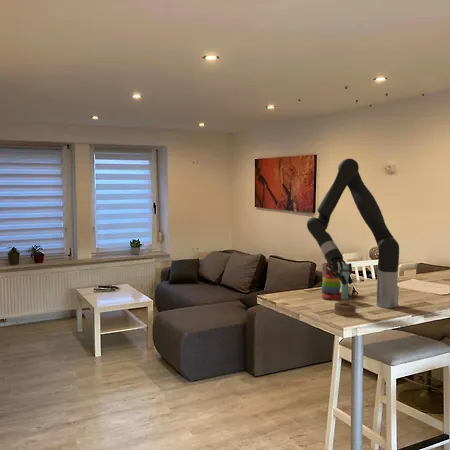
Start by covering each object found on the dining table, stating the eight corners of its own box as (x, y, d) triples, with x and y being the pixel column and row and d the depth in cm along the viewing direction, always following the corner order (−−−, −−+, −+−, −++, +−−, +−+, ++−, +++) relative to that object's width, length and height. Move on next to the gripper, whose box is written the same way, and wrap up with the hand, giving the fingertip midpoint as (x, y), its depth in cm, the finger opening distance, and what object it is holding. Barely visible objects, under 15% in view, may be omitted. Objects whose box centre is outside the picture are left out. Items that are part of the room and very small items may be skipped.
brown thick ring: (345, 309, 222) (345, 301, 222) (359, 314, 214) (359, 305, 214) (330, 312, 218) (330, 303, 218) (344, 317, 210) (344, 308, 210)
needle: (344, 297, 217) (346, 265, 216) (349, 299, 215) (350, 266, 214) (339, 298, 216) (341, 265, 215) (344, 299, 214) (345, 266, 212)
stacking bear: (325, 300, 239) (326, 265, 238) (317, 295, 249) (318, 262, 248) (345, 299, 242) (346, 264, 240) (336, 294, 251) (337, 261, 250)
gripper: (323, 248, 217) (340, 280, 207) (346, 247, 223) (364, 277, 214) (315, 258, 222) (332, 289, 212) (338, 256, 228) (355, 286, 219)
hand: (348, 283), depth 213 cm, fingers closed on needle, 2 cm apart
